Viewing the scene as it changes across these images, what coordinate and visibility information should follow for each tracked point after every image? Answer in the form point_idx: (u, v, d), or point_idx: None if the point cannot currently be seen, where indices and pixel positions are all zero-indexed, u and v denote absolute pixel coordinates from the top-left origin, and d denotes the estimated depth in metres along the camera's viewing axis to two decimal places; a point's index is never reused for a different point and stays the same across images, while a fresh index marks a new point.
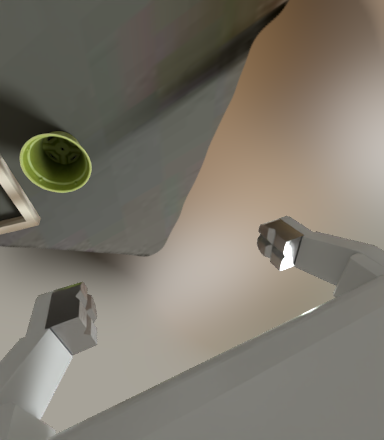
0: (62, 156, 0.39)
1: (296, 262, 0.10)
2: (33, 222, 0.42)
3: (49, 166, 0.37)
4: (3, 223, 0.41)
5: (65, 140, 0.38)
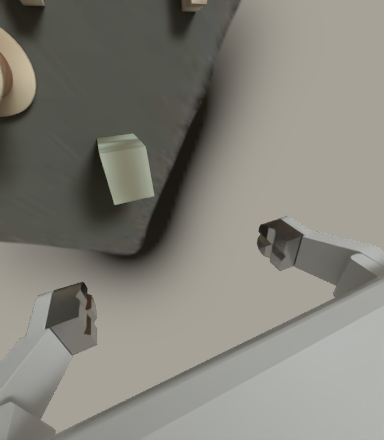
0: None
1: (296, 262, 0.10)
2: None
3: None
4: None
5: None
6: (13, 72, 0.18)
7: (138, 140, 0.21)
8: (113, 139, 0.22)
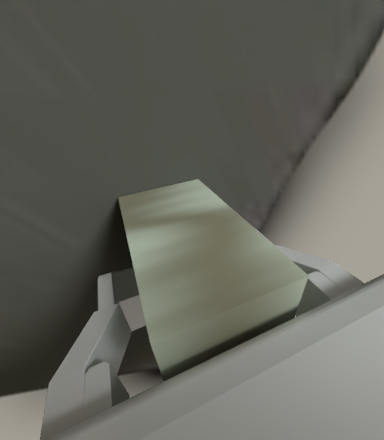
0: None
1: None
2: None
3: None
4: None
5: None
6: None
7: (239, 218, 0.08)
8: (162, 206, 0.09)
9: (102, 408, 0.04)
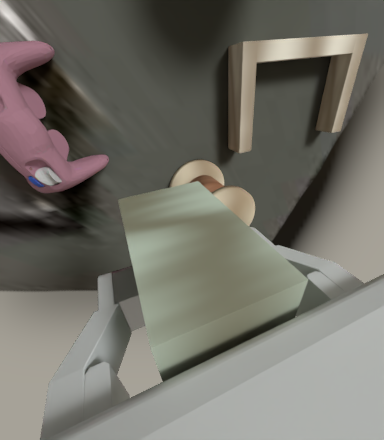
0: None
1: None
2: (360, 40, 0.22)
3: None
4: (331, 98, 0.25)
5: None
6: None
7: (238, 220, 0.08)
8: (162, 209, 0.09)
9: (102, 408, 0.04)
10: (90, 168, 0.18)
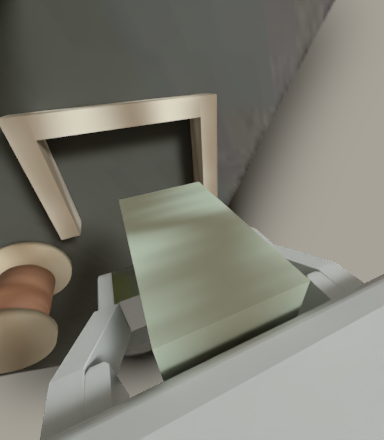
0: None
1: None
2: (207, 102, 0.17)
3: None
4: (197, 162, 0.20)
5: None
6: (54, 270, 0.21)
7: (240, 221, 0.08)
8: (163, 209, 0.09)
9: (102, 408, 0.04)
10: None
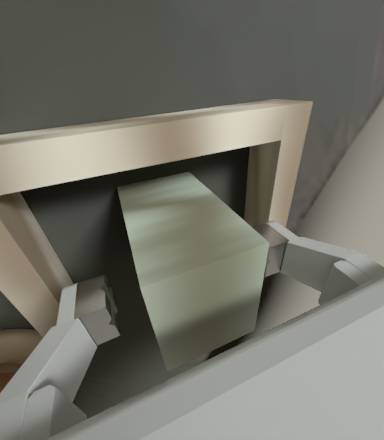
0: None
1: (282, 268, 0.10)
2: (295, 116, 0.10)
3: None
4: (257, 204, 0.13)
5: None
6: None
7: (220, 202, 0.09)
8: (155, 193, 0.10)
9: (38, 439, 0.04)
10: None
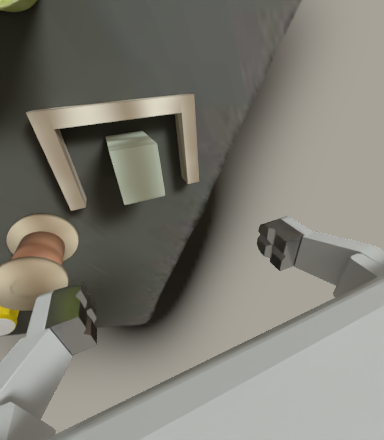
0: None
1: (296, 262, 0.10)
2: (186, 101, 0.21)
3: None
4: (181, 150, 0.25)
5: None
6: (64, 239, 0.26)
7: (148, 137, 0.20)
8: (122, 136, 0.21)
9: None
10: None
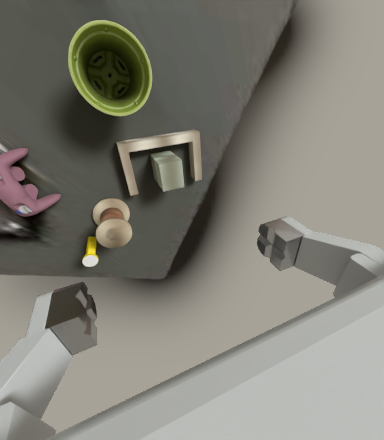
0: (120, 79, 0.32)
1: (296, 262, 0.10)
2: (195, 135, 0.39)
3: (129, 95, 0.32)
4: (192, 161, 0.43)
5: (98, 67, 0.31)
6: (122, 213, 0.43)
7: (175, 155, 0.38)
8: (160, 154, 0.39)
9: None
10: (48, 203, 0.35)
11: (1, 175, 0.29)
